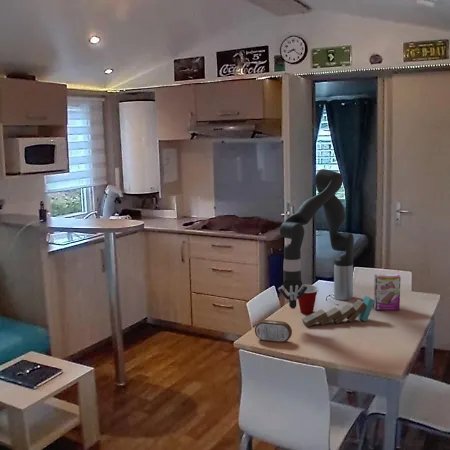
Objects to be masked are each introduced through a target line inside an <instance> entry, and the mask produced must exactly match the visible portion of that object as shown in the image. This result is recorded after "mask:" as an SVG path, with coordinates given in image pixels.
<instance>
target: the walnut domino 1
mask: <svg viewBox="0 0 450 450" xmlns="http://www.w3.org/2000/svg"><path fill="white" fill-rule="evenodd" d="M326 312H327V311H325V310H324V309H323V308H321V309H319V310H316V311H314V312H313V313H311V314H308V315H306V316H305V317H302V318H301V320H302V323H303V324H304V326H305V327H307V328H309V327H311V326H313V325H314V324H317V323H319V321H321V320H323V319H325V318H327V317H328V316H327V314H326Z"/></svg>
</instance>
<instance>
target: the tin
mask: <svg viewBox="0 0 450 450" xmlns="http://www.w3.org/2000/svg"><path fill="white" fill-rule="evenodd" d="M254 332H255V333H254V334H255V336H256V337H257V338H258V339H259V340H260V341H263V342H274V343H285V342H288V341H289V340H290V338H291V337H292V333H293V329H292V327H291V326H290V324H289V323H287V322H285V321H282V320H281V321H280V320H271V319H270V320H269V319H262V320H260V321H258V322H257V323H256V325H255V327H254Z"/></svg>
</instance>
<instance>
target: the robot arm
mask: <svg viewBox="0 0 450 450" xmlns="http://www.w3.org/2000/svg"><path fill="white" fill-rule="evenodd" d="M343 177H344V176H343V175H342V173H340V172H337V171H333V170H330V169H326V168H325V169H324V168H321V169H319V170H318V171H316V174H315V177H314V182H315V187H316V189H317V192H318V193H317V194H316V195H313V196H311V197H310V198H308V199H306V200H305V201H303V203H301V205H300V206H299V208H297V210H296V211H295V212H294V213H293V214H291V215H290V216H289V217H287V218H286V219H285V220H284V221H283V222H282V223H281V225H280V227H279V234H280V237H283V238H284V239H289V240H291V241H290V243H287V244H285V245H284V246H283V265H282V266H283V267H282V268H283V282H282V285H281V286H279V287H278V288H277V290H278V291H279V292H280V293H281V295H282V296H283V297H284V298H285V299H286V300H288V306H289V308H290V309H292V310H293V309H294V310H295V309H296V308H297V301H298V298H301V296H302V295H303V294H304V292H305V291H306V289H307V287H306V286H305V285H306V284H303V281H302V260H301V258H302V257H301V248H302V245H303V241H304V238H305V237H304V236H305V227H304V226H305V225H308V224H309V223H310V221H311V220H312V219H313V217H314V216H315V215H316V213H317V212H318V211H319V209H321V208H322V207H323V212H324V213H323V214H324V216H325V220H326V224H327V227H328V233H329V239H330V246H331V249H332V250H333V251H336V252H337V251H338V252H345V254H344V255H340V256H338V257H335V258H334V259H333V272H334V273H333V284H334V285H333V288H334V289H333V297H334V299H335V300H339V301H348V300H352V299H353V298H354V244H355V239H354V234H353V233H352V232H341V231H340V232H338V230H339V229H340V227H341V226H342V224H343V223H344V222H345V219H346V212H345V208H344V205H343V203H342V201H341V199H339V198H338V197H337V195H336V194H337V193H338V192H339V191H340V189H341V188H342V186H343V183H344V179H343ZM300 287H301V289H300ZM299 289H300V291H299V292H298V290H299ZM285 291H286V292H287V294H286V292H285Z"/></svg>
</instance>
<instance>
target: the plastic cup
mask: <svg viewBox="0 0 450 450" xmlns="http://www.w3.org/2000/svg"><path fill="white" fill-rule="evenodd" d="M304 285H305V286H306V287H307V289H306V291H305V292H304V294H303V295H302V296H301V298H298V299H297V301H298V306H299V312H300V314H304V315H311V314H313V313H314V309H315V308H314V307H315V305H316V298H317V294H318V292H319V287H318V286H316V285H314V284H304ZM300 289H301V287H300ZM300 289H299V290H298V292H299V291H300Z"/></svg>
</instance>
